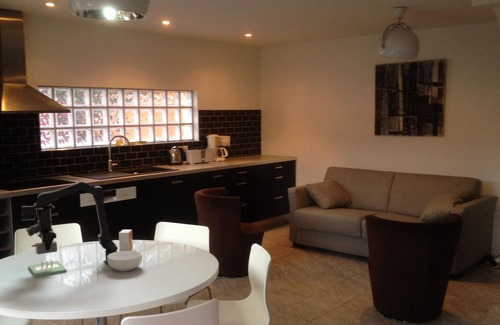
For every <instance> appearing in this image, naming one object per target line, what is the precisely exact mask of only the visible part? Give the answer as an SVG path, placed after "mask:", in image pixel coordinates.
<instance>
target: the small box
mask: <svg viewBox="0 0 500 325" xmlns="http://www.w3.org/2000/svg"><path fill="white" fill-rule="evenodd" d="M118 246H119V248H118V250H119V251H131V250H132V248H133V247H134V246H133V229H122V230H121V231H119V232H118Z"/></svg>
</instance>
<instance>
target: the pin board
mask: <svg viewBox="0 0 500 325" xmlns="http://www.w3.org/2000/svg"><path fill="white" fill-rule="evenodd" d="M28 269H29V271H30V272H31V274H33V276H34V277H35V278H40V277H45V276H51V275H56V274H62V273H67V271H68V270H67V268H65V266H64V265H63V264H62V263H61V262H60V261H59V260H50V261H48V260H46V261H45V262H43V261H41V262H40V263H36V264H35V263H33V264H28Z"/></svg>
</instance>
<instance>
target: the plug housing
mask: <svg viewBox="0 0 500 325" xmlns="http://www.w3.org/2000/svg"><path fill="white" fill-rule="evenodd" d="M31 247H32V248H35V253H36V254H37V255H43V254H44V255H45V254H50V253H56V252H58V244H57V241H56V240H53V242H52V244H51V247H50V249H49V251H46V248H45V244H44V242H42V241H41V242H37V243H35V244H31Z"/></svg>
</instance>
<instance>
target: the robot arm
mask: <svg viewBox="0 0 500 325" xmlns="http://www.w3.org/2000/svg"><path fill="white" fill-rule="evenodd" d="M80 191H84V192H86V193H88V194H90V195H92V198H93V201H94V204H95V206H96V213H97V218H98V223H99V229H100V233H99V234H97V237H98V243H99V246H101V247H102V248H103V249H104V250H105V251H104V252H105V259H104V260H103V263H105V264H106V265H109V264H108V261H107V256H108V255H109V254H111V253H114V252H118V250H119V248H118V246H117V245H116V242H114V241H113V239H112V238H113V237H112V235H111V233H110V231H109V227H108V220H107V213H106V210H105V191H104V189H103V188H102V186H100V185H93V184H90V183H87V182H85V181H82V180H80V181H78V182H76V183H74V184H69V185H67V186H65V187H62V188H59V189H55V190H49V191H43V192H40V193H39V194H38V196H37V200H36V201H35V202H34V205H30V206H29V205H22V206H21V213H20V215H21V216H20V217H21V221H35V219H36V218H37V217H38V220H36V223H35V224H33V225H30V226H29V227H28V228H26V229H25V230H26V231H25V232H27V234H28V236H29V237H32V236H34V235H36V234H37V237H38V238H40V239H41V243H42V242H44V244H45V248H46V251H49V249H50V247H51V244H52V242H53V241H55V240H54V239H57V233H56V232H54V229H53V228H52V224H53V220H52V211H51V210H55V206H54V205H53V204H52V203H53V202H54V201H56V200H58V199H60V198H63V197H66V196H68V195H72V194H73V193H76V192H80ZM37 214H38V215H37Z"/></svg>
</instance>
